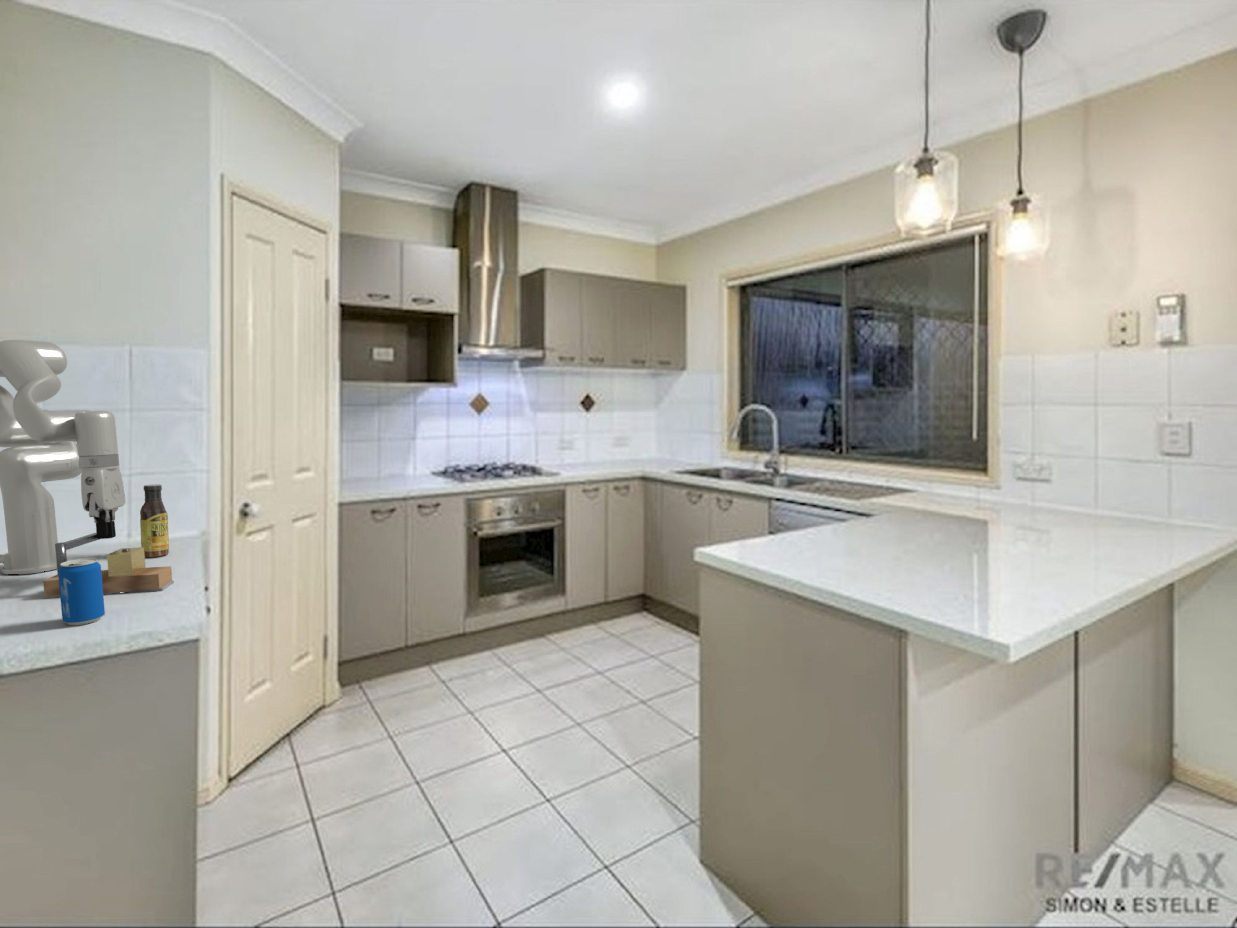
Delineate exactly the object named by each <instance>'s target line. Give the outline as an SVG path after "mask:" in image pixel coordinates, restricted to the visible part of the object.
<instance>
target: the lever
mask: <svg viewBox="0 0 1237 928" xmlns="http://www.w3.org/2000/svg"><path fill="white" fill-rule="evenodd" d="M99 540H100V539H98V538H97V532H96V531H95V532H94V533H93V532H92V533H90V534H88V535H87V534H86V535H83V536H80V537H78V538H74V539H69V540H67V541H63V542H62V541H61V542H58V543H56V544H55V551H56V562H57V569H56V572H57V574H58V570H59V568H60V567H61V566H60V564H61V563H63V562H67V561H68V557H67V550H71V549H75V548H77V547H80V546H83V545H87V544H89V543H93V542H96V541H99Z"/></svg>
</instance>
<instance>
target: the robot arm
mask: <svg viewBox="0 0 1237 928" xmlns="http://www.w3.org/2000/svg"><path fill="white" fill-rule="evenodd" d="M67 365H68V359H67V356H66V353H65V352H64V350H63V349H62V348H61V347H60V346H58V344H54V343H52V342H49V341H37V340H36V341H35V340H26V339H25V340H24V339H23V340H22V339H5V340H1V341H0V378H5V379H6V380H7V381H8V382H9V384H10V385H11V386H12V387H13V388H14V389H15V390H16V394H15V395H14V396H13V394H12V393H11V392H10V391H9V390H8V389H6V388H5V387H3V386H2V385H1V384H0V448H5V449H2V450H0V492H1V496H2V505H3V514H4V523H5V532H6V536H5V537H6V543H7V552H6V553H4V554H0V564H3V566H2V567H1V568H0V569H1V573H2V574H3V575H8V574H19V575H29V574H38V573H43V572H44V571H45V572H50V571H54V570H57V562H56V551H55V544H56V543H59V541H58V540H59V539H58V531H57V530H58V529H57V520H56V518H57V517H56V507H55V501H54V497H53V496H52V493H51V492H49V490H47V489H46V488H45V486H44V485H42V483H46V482H54V481H62V480H64V481H65V480H69V479H75V478H77V477H78V476H80V475H81V476H80V487H81V489H80V491H81V501H82V503H81V504H82V508H83V510H84V511H85V512H88V516H89V518H93V523H95V533H96V532H97V538H98V539H99V540H107V539H108V540H109V539H112V538H116V536H117V535H116V532H117V531H116V524H115V520H116V512H117V511H118V510H119V508H121V507H124V505H125V504H126V495H125V489H124V488H125V487H124V483H123V477H122V473H121V470H120V469H121V468H120V458H119V448H118V440H117V439H118V437H117V429H116V428H117V427H116V417H115V415H114V413H112V411H108V410H87V409H86V410H83V409H82V410H80V409H79V410H77V409H75V410H71V409H70V410H68V409H67V410H47V409H42V408H41V407H40V406H39V405H38V404H40V403H43V402H45V401H48V400H50V399H52V398H53V397H54V396H56V395H57V394H58V393H59V391H60V390H61V388H62V381H61V379H60V377H59V376H58V375H61V374H63V373H64V372H65V370H66V368H67Z"/></svg>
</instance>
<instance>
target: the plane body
mask: <svg viewBox="0 0 1237 928" xmlns="http://www.w3.org/2000/svg"><path fill="white" fill-rule="evenodd" d="M101 574H102V585H103V594H104V595H112V594H111V593H119V594H121V593H120V592H135V593H145V592H144V591H150V592H162V591H164V590H166V589H167V588H169V587H170V586H171V585H173V584H174V583H175V582H174V580H173V573H172V565H170V566H169V565H168V566H153V567H145V569H143V570H141V571H139V572H138V573H136V574H134V575H130V576H113V577H109V573H108V569H101ZM42 585H43V594H44V595H43V596H42V598H43V599H54V598H60V588H59V577H58V573H57V574H55V575H53V576H51V577H49V578H46V579H44V580H42ZM166 587H167V588H166Z"/></svg>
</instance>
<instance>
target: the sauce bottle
mask: <svg viewBox="0 0 1237 928" xmlns="http://www.w3.org/2000/svg"><path fill="white" fill-rule="evenodd" d="M162 490H163V488H162V484H159V483H158V484H145V485H143V492H144V504H143V505H141V508H140V511H139V512H140V519H139V524H140V525H139V526H140V527H139V528H140V547H144V555H145V558H150V559H151V558H159V557H164V556H166V555H168V554H169V553H170V552H169V551H170V550H169V549H170V544H169V543H170V539H169V517H168V512H167V510H166V508H165V505H164V502H163V498H162Z"/></svg>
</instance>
